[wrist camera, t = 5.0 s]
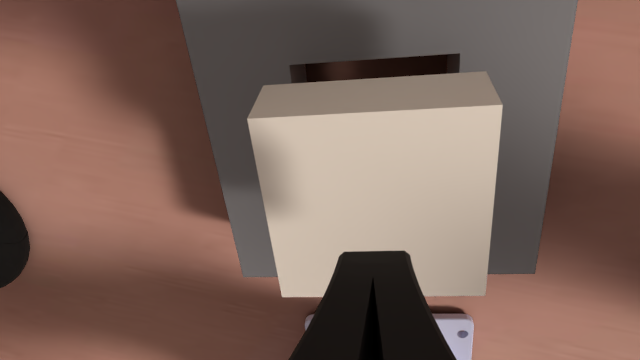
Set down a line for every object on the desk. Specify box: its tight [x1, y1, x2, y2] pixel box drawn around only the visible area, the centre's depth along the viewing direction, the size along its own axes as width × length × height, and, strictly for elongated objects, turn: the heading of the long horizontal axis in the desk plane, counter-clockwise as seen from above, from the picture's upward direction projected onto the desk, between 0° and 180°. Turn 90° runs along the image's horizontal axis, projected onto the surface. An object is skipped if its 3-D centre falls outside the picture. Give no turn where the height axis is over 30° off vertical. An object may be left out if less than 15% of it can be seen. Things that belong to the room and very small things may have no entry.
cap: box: [247, 71, 503, 297], centre depth 15 cm, size 6×6×5 cm
